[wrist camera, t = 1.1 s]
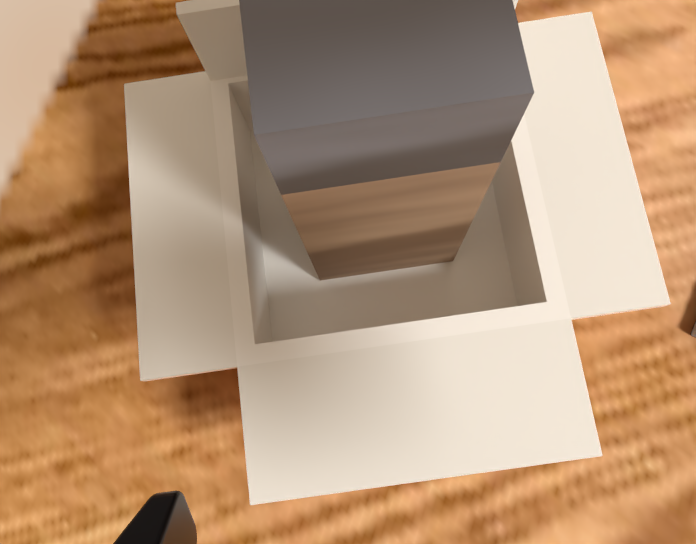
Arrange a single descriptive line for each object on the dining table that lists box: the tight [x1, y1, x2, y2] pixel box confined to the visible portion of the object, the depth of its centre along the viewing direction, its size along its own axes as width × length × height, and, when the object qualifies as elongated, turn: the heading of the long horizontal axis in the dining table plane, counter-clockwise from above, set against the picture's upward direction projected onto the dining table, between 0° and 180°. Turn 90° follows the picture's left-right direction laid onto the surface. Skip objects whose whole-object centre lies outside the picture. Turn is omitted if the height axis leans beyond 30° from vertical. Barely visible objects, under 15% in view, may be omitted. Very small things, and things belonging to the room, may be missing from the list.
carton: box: [124, 0, 671, 505], centre depth 19 cm, size 14×16×8 cm
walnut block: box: [239, 0, 534, 281], centre depth 17 cm, size 4×5×12 cm
